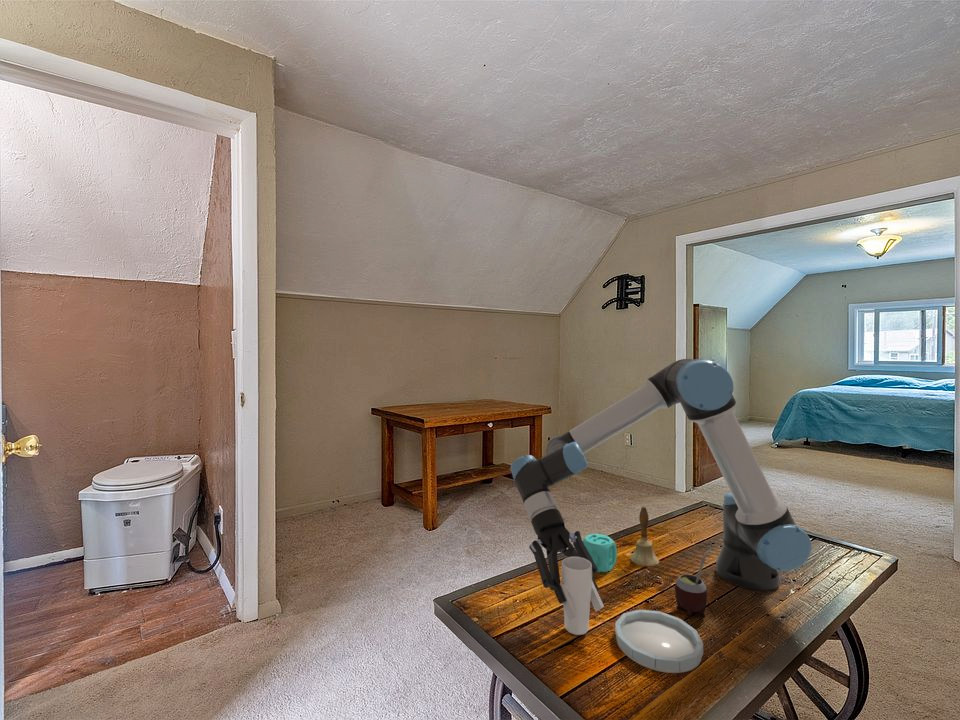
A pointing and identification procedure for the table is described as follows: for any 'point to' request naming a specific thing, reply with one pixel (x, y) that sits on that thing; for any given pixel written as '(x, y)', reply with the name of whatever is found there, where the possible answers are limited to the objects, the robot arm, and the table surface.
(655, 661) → the dish
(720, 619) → the table surface
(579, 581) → the drinking glass
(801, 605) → the table surface
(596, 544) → the decorative dice
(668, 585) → the table surface
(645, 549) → the hand bell
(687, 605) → the mate gourd
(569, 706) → the table surface
